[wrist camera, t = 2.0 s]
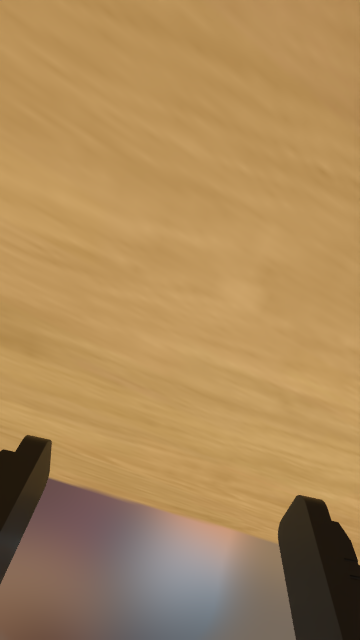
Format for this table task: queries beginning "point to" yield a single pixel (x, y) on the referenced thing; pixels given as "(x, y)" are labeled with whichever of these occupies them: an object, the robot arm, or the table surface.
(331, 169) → the table surface
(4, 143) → the table surface
